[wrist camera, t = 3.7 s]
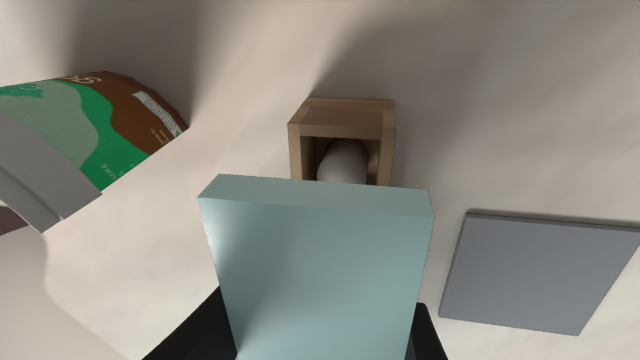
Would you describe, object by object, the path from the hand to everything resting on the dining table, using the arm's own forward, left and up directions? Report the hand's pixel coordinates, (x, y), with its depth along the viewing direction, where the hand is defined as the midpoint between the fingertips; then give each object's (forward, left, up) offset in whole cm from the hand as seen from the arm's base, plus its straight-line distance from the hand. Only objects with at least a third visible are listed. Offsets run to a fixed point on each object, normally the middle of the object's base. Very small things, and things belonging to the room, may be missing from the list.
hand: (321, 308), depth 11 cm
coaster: (-6, -12, -9) cm, 16 cm away
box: (0, 0, -9) cm, 9 cm away
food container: (+4, +15, -9) cm, 18 cm away
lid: (0, 0, 0) cm, 0 cm away
